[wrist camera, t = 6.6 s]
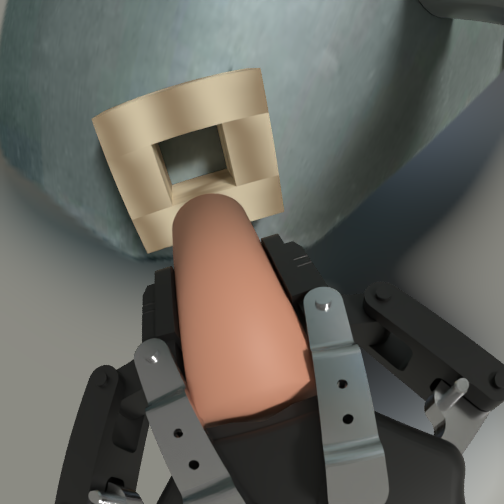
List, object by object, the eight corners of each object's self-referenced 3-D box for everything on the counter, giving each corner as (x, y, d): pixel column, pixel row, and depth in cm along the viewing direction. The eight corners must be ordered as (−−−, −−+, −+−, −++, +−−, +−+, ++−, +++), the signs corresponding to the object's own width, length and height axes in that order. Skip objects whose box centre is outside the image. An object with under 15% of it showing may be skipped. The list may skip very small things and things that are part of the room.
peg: (239, 183, 14) (337, 360, 6) (254, 247, 16) (329, 412, 8) (161, 207, 13) (169, 411, 6) (186, 268, 16) (217, 446, 8)
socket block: (245, 68, 23) (260, 68, 19) (268, 191, 32) (284, 211, 28) (105, 110, 22) (91, 118, 18) (150, 227, 31) (147, 253, 27)
